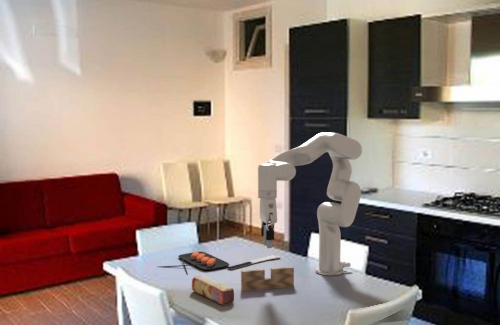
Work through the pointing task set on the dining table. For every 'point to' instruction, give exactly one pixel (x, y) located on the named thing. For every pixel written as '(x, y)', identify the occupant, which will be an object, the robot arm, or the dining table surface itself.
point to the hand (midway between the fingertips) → (267, 237)
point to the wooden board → (267, 279)
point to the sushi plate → (201, 261)
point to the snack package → (213, 290)
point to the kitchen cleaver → (252, 262)
